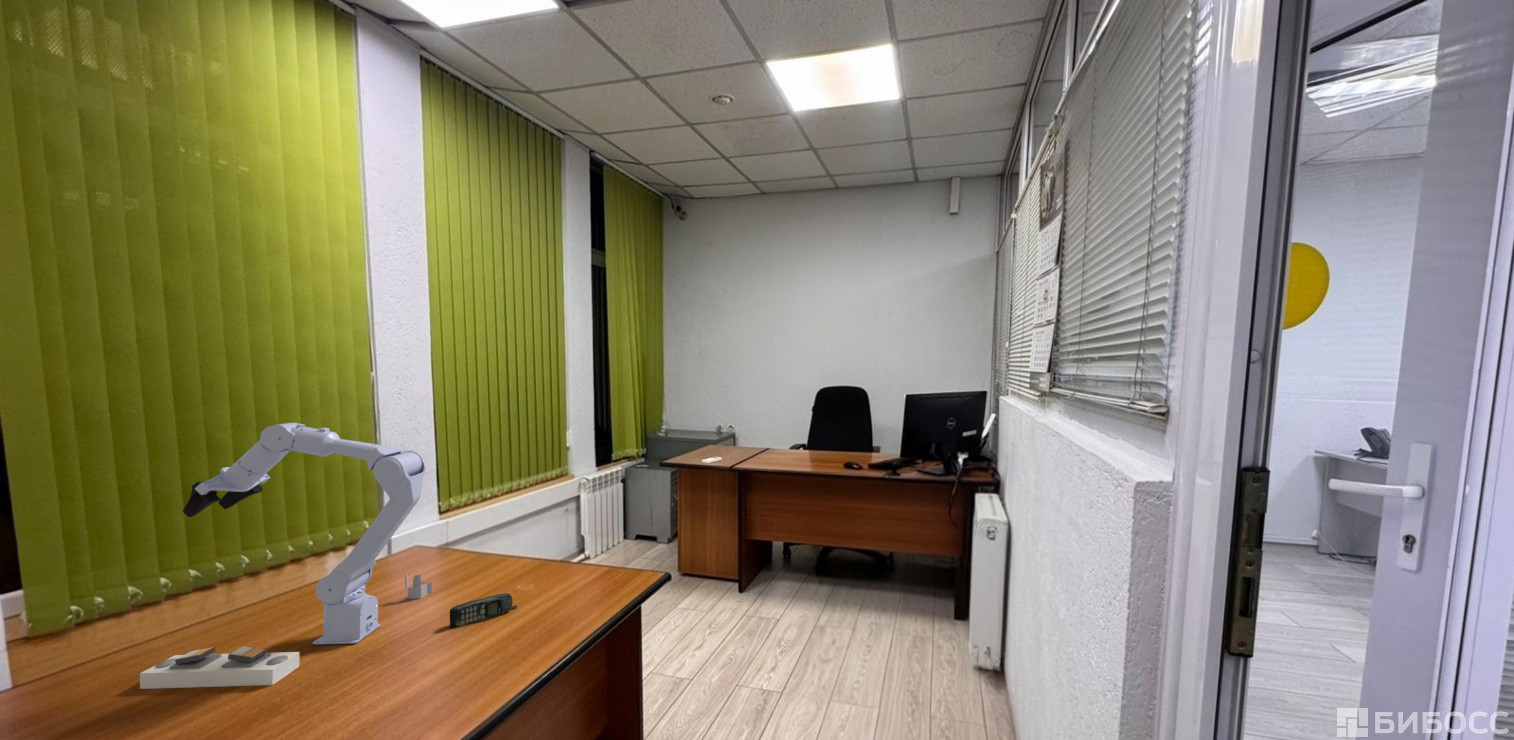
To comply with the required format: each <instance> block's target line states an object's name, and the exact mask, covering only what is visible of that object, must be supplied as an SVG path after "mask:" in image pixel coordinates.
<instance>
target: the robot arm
mask: <svg viewBox="0 0 1514 740" xmlns="http://www.w3.org/2000/svg"><path fill="white" fill-rule="evenodd" d="M259 436H260V438H259V440H258V441H257V442H256V443H255V444H253V446H252V447H250V448H249V449H248V450H247V451H246V452H245V453H244V454H243V455H242V456H240V458H238V459H237V460H236V461H235V462H234V463H233V464H232V465H231V466H226V467H222V468H221V469H219V474H217V475H215V476H214V477H212V478H210V479H208V480H201V481H195V483H194V484H192V485H191V493H190V496H189V499H188V501H187V503H186V504H185V506H184V508H183V510H182V512H183V513H184V515H186V516H187V518H192V517H194V516H196V515H198V514H199V513H200V512H202V511H204V510H205V509H206V508H208V507H209V506H211V505H213V504H215V503H217V502H218V505H219V506H220V507H222V508H223V509H224V510H228V509H229V508H231V507H233V506H235V505H236V504H238V503H240V502H242V501H244V500H246V499H247V498H249V497H251V496H255V495H256V494H259V493H261V492H263V490H264V488H263V486H261V485H263V484H265V483H267V481H269V479H271V477H270V475H268V474H267V473H268V472H270V470H272V469H273V468H274V466H276V465H277V464H278V463H279V462H280V461H281V460H283V458H284V457H285V456H286V455H288V453H290V452H291V451H292V452H297V453H302V454H308V455H314V456H319V457H329V456H330V455H332V454H337V455H340V456H341V455H342V456H345V457H348V458H349V457H350V458H354V459H358V460H362V461H366V465H367V469H368V470H369V471H371V470H372V475H373V477H374V478H375V481H376V482H377V483H378V485H380V487H381V488H382V490H383V491H384V492H385V494H386V495H387V496H388V498H389V500H388V501H387V502H386V504H385V505H384V506H383V508H382V509H381V510H380V512H379V513H378V515H377V516H376V517H375V519H374V520H373V521H372V523H371V524H370V525H369V527H368V528H367V529H366V531H365V532H364V533H363V535H362V536H361V538H360V539H359V540H358V542H357V543H356V544H355V546H354V547H353V548H352V549H351V551H350V553H349V554H348V555H347V556H346V557H345V558H344V559H343V560H342V561H341V562H340V563H338V564H337V565H336V566H335V567H334V568H333V569H332V570H331V571H330V573H329V574H328V575H326V576H323V577H322V578H320V580H318V582H317V583H316V586H315V595H316V597H317V598H318V599H317V600H319V601H321V602H322V605H323V635H322V636H320V637H318V638H317V639H316V640H314V641H312V645H340V644H341V645H342V644H343V645H345V644H347V645H348V644H351V645H352V644H357V643H359V642H360V641H362V640H363V639H364V638H365V637H367V636H368V635H370V634H371V633H372V632H374V631H375V630H377V629H378V628H379V627H381V624H380V623H379V600H378V598H377V597H376V596H375V595H371V594H367V593H366V592H365V591H366V584H368V582H370V579H371V578H372V573H373V569H374V568H375V566H376V565H377V562H376V559H377V558H378V556H379V555H380V553H381V552H382V551H383V549H384V548H385V547H386V546H387V544H388V542H389V541H390V540H391V539H392V537H393V536H394V535H395V534H396V531H398V529H399V528H400V526H401V525H402V524H403V522H404V521H405V520H406V518H407V517H408V515H409V514H410V513H411V511H413V508H415V505H417V503H418V502H419V501H420V498H421V494H422V487H423V481H424V480H423V478H424V476H425V474H426V471H427V466H426V463H425V460H424V457H423V456H422V455H421V454H420V453H419V452H417V451H414V450H407V451H406V448H402V447H398V446H391V445H383V444H376V443H372V442H371V443H370V442H365V441H357V440H349V439H343V438H341V437H340V436H339V435H338V433H337V432H335V431H330V428H329V427H320V428H314V427H310V426H309V427H308V426H306V424H303V423H298V422H287V423H279V424H273V425H269V426H267V427H266V428H264V429H263V430H262V431H261V433H260V435H259ZM218 491H219V492H226V493H225V494H224V495H223V496H222V498H221V497H220V496H218Z"/></svg>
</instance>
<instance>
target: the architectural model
mask: <svg viewBox="0 0 1514 740" xmlns="http://www.w3.org/2000/svg"><path fill="white" fill-rule="evenodd" d="M404 576H405V578H404V580H405V581H404V582H405V583H404V584H405V585H404V586H405V590H407V600H419V599H420V600H421V599H423V597H425V596H427V594H432V586H433V584H432V583H433V582H432V581H429V582H428V581H422V574H414V575H412V587H409V575H408V574H406V575H404ZM422 584H423V585H422Z"/></svg>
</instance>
